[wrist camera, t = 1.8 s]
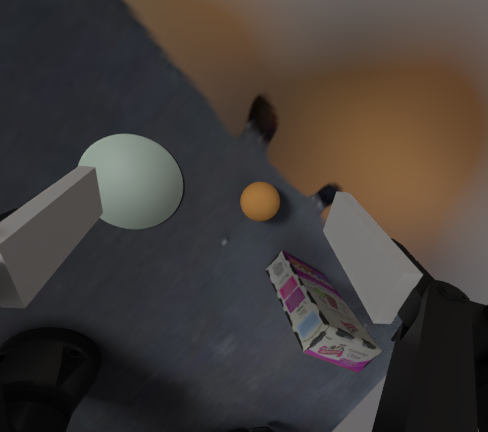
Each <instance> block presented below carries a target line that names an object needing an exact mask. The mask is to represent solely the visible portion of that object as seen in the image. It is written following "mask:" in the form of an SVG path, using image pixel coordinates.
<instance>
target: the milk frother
mask: <svg viewBox="0 0 488 432" xmlns="http://www.w3.org/2000/svg"><path fill="white" fill-rule="evenodd" d="M247 432H272V431H271V430H270V429H268V428H255V429H252V430H250V431H247Z"/></svg>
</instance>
